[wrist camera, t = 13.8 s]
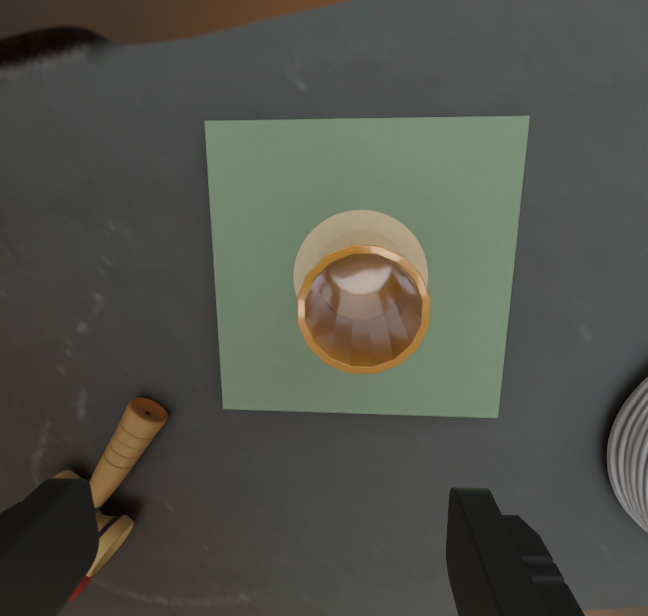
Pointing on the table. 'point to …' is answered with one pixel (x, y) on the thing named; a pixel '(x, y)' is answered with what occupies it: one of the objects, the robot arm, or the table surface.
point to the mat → (376, 217)
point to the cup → (363, 305)
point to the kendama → (119, 475)
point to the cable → (631, 455)
